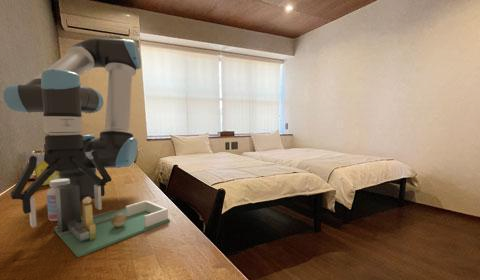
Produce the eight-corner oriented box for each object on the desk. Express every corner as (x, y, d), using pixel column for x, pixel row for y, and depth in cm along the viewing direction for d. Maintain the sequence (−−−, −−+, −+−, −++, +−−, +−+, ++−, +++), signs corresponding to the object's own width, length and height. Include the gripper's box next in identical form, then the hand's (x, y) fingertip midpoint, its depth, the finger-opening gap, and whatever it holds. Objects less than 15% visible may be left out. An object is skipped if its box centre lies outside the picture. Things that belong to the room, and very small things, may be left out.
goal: (125, 217, 66) (125, 206, 65) (147, 210, 71) (146, 200, 71) (146, 229, 58) (145, 216, 58) (168, 220, 64) (167, 208, 63)
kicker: (58, 227, 57) (55, 186, 57) (78, 222, 61) (76, 182, 60) (74, 245, 49) (71, 197, 48) (96, 237, 52) (94, 192, 52)
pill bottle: (45, 223, 62) (42, 184, 61) (51, 215, 67) (49, 179, 66) (72, 219, 65) (70, 181, 64) (76, 211, 70) (74, 176, 69)
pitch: (54, 230, 58) (54, 226, 58) (137, 206, 75) (137, 203, 75) (77, 257, 46) (77, 252, 46) (169, 221, 63) (169, 217, 63)
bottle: (37, 188, 96) (33, 142, 95) (35, 185, 100) (32, 141, 99) (71, 182, 105) (68, 140, 104) (68, 180, 109) (65, 139, 108)
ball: (109, 227, 58) (108, 213, 58) (123, 222, 61) (122, 209, 61) (115, 231, 56) (114, 217, 56) (129, 226, 59) (128, 213, 59)
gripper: (-9, 136, 44) (-1, 240, 45) (122, 132, 63) (125, 205, 65) (-12, 135, 49) (-5, 229, 50) (111, 132, 68) (114, 200, 69)
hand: (68, 216), depth 57 cm, fingers open, 13 cm apart
